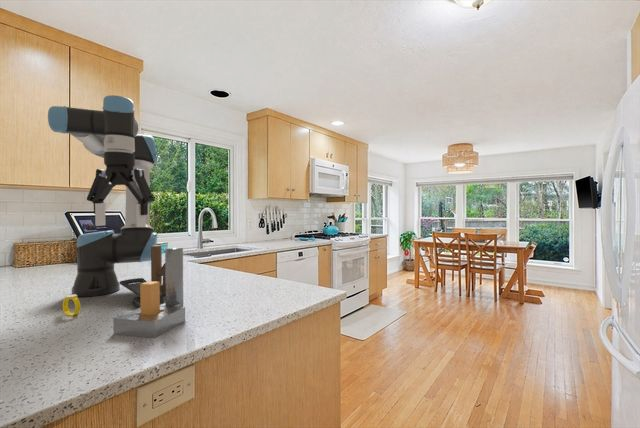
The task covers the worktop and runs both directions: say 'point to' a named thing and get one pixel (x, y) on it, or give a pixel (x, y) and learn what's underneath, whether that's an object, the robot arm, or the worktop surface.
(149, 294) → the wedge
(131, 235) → the robot arm
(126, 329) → the grey l-shaped piece
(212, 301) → the worktop surface
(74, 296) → the watch
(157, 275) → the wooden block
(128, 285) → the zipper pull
